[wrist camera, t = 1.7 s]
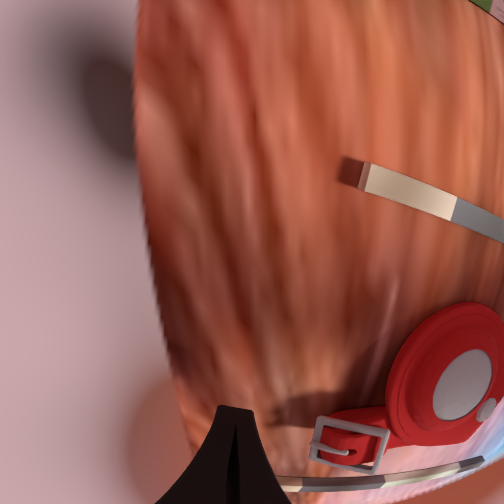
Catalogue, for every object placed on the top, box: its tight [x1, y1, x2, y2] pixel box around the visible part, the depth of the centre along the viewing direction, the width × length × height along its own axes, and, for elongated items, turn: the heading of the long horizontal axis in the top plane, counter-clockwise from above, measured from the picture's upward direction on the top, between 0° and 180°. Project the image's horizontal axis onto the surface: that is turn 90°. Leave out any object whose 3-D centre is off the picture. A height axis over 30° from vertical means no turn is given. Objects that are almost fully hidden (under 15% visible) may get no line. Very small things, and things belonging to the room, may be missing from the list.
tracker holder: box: [308, 302, 504, 475], centre depth 13 cm, size 12×4×10 cm
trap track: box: [275, 162, 504, 492], centre depth 14 cm, size 24×21×1 cm
